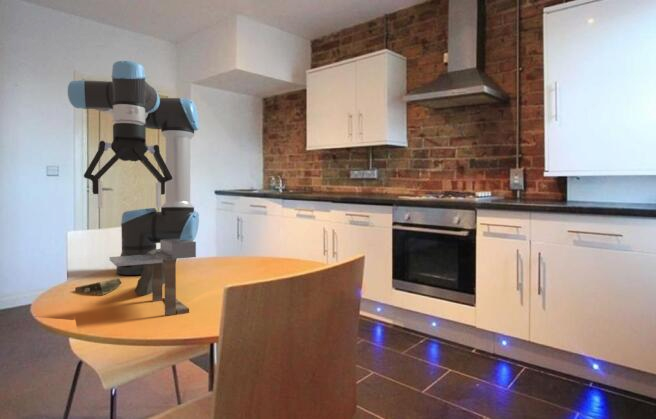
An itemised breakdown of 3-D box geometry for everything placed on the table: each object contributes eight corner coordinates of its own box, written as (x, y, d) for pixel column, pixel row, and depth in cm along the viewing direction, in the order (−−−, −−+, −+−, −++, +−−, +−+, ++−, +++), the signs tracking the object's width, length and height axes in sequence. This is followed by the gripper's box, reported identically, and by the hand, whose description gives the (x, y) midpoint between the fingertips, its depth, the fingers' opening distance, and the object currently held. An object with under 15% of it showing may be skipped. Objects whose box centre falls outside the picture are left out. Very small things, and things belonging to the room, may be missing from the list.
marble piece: (157, 256, 114) (145, 250, 114) (137, 302, 115) (125, 296, 116) (184, 248, 131) (173, 243, 131) (166, 289, 132) (155, 283, 132)
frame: (152, 302, 114) (152, 253, 114) (173, 300, 117) (173, 252, 117) (165, 316, 100) (165, 260, 100) (189, 312, 104) (188, 258, 103)
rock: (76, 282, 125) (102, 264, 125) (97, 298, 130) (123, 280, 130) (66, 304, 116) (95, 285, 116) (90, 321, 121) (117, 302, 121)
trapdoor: (109, 260, 106) (109, 241, 106) (182, 255, 117) (182, 238, 117) (116, 266, 95) (116, 246, 95) (195, 260, 106) (195, 241, 106)
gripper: (72, 116, 93) (73, 208, 93) (183, 127, 107) (184, 207, 107) (71, 121, 99) (72, 207, 99) (176, 131, 113) (177, 206, 114)
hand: (130, 207), depth 103 cm, fingers open, 13 cm apart
